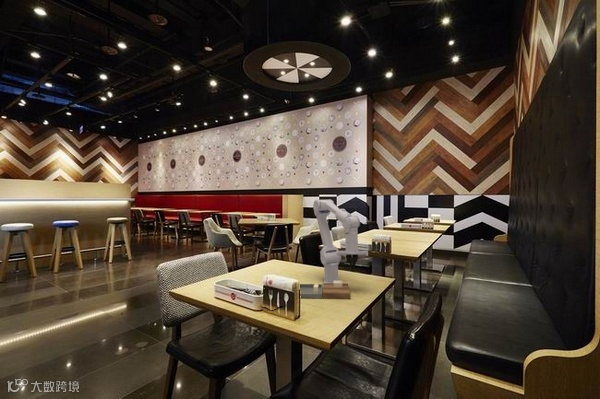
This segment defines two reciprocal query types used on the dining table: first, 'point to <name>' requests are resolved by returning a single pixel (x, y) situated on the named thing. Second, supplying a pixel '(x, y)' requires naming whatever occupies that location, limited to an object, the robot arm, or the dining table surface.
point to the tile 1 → (316, 289)
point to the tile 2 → (337, 284)
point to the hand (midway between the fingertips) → (352, 270)
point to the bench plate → (335, 291)
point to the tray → (310, 291)
